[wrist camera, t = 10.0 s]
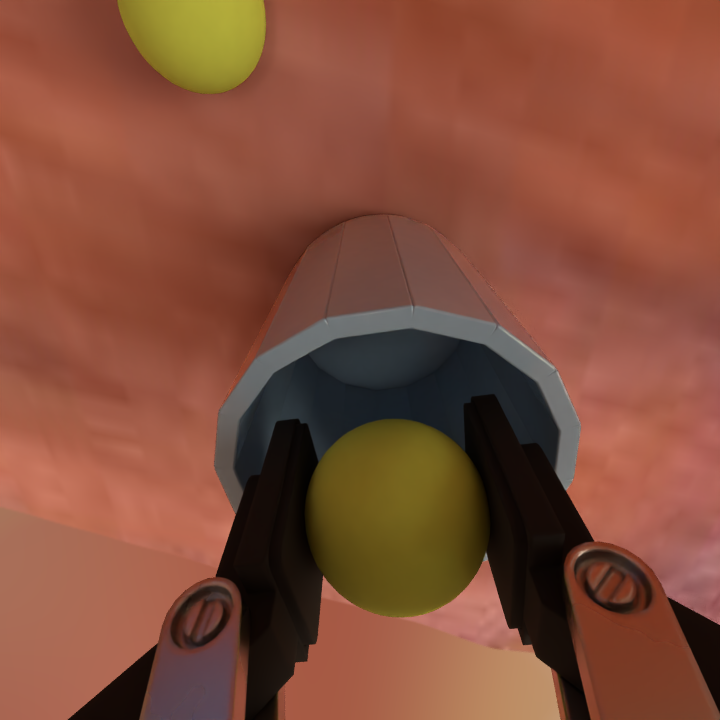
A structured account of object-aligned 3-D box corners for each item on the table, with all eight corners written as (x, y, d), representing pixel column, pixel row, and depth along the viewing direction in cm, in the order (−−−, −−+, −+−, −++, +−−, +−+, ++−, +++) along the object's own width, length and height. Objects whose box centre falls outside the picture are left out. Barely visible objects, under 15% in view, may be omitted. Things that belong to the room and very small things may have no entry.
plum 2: (299, 396, 10) (264, 540, 6) (464, 374, 9) (523, 515, 6) (330, 507, 12) (316, 665, 8) (468, 492, 11) (515, 650, 8)
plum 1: (134, -41, 13) (47, -106, 9) (258, -70, 12) (216, -149, 9) (182, 108, 15) (125, 100, 11) (290, 87, 14) (266, 72, 11)
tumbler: (263, 231, 17) (155, 342, 8) (473, 197, 16) (603, 277, 7) (308, 400, 21) (270, 591, 12) (476, 378, 20) (562, 566, 11)
